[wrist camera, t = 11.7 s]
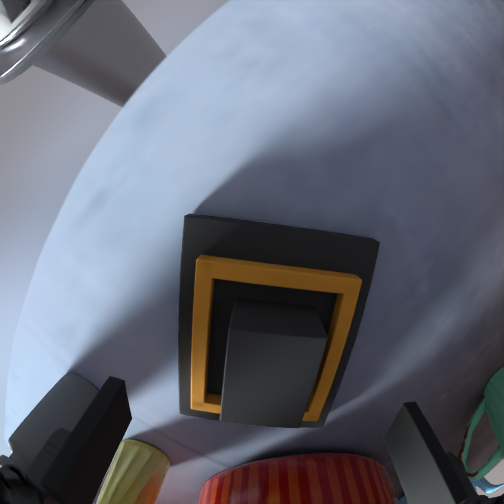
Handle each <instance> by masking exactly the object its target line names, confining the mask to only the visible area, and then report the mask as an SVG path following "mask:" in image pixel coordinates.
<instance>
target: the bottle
mask: <svg viewBox="0 0 504 504" xmlns="http://www.w3.org/2000/svg"><path fill="white" fill-rule="evenodd" d="M98 392H99V390H98V389H97V388H96V387H95V386H94V385H93V384H92V383H91V382H89V381H88V380H86V379H85V378H83V377H81V376H79V375H76V374H66V375H64V376H63V377H62V378H61V379H60V380H59V381H58V382H57V383H56V384H55V385H54V387H53V388H52V389H51V390H50V391H49V392H48V393H47V394H46V395H45V396H44V398H43V399H42V400H41V401H40V402H39V403H38V404H37V405H36V407H35V408H34V409H33V410H32V411H31V412H30V414H29V415H28V416H27V417H26V418H25V419H24V421H23V422H22V423H21V424H20V425H19V427H18V428H17V429H16V430H15V432H14V433H13V434H12V435H11V437H10V438H9V440H8V443H9V447H10V449H11V451H12V454H11V456H10V457H9V458H8V457H6V456H5V455H1V456H0V467H1V466H3V465H5V464H14V465H16V466H18V467H20V468H21V469H22V471H23V472H24V473H25V472H26V471H27V469H28V468H29V466H30V465H31V463H32V462H33V460H34V459H35V457H36V456H37V454H38V453H39V451H40V450H41V449H42V447H43V445H44V444H45V443H46V441H47V440H48V438H49V437H50V435H51V434H52V433H53V432H54V431H56V430H57V429H59V428H61V427H62V428H64V429H66V430H69V431H71V432H72V430H73V429H74V427H75V426H76V424H77V423H78V421H79V420H80V418H81V417H82V415H83V414H84V412H85V411H86V409H87V408H88V407H89V405H90V404H91V402H92V401H93V399H94V398H95V396H96V395H97V393H98Z"/></svg>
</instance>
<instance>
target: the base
mask: <svg viewBox="0 0 504 504" xmlns="http://www.w3.org/2000/svg"><path fill="white" fill-rule="evenodd" d="M379 244H380V242H379V241H377V240H375V239H373V238H366V237H360V236H354V235H348V234H341V233H335V232H328V231H321V230H314V229H307V228H300V227H293V226H286V225H279V224H271V223H264V222H256V221H248V220H240V219H232V218H223V217H215V216H206V215H197V214H188V215H185V216H184V227H183V240H182V254H181V271H180V293H179V330H178V370H179V406H180V414H184V415H189V416H194V417H199V418H205V419H211V420H218V421H220V411H221V401H222V390H223V380H224V369H225V359H226V349H227V340H228V330H229V325H230V320H231V316H232V311H233V307H234V302H235V298H244V299H252V300H260V301H268V302H276V303H285V304H295V305H304V306H314V307H315V308H316V310H317V313H318V315H319V317H320V320H321V322H322V324H323V327H324V329H325V331H326V334H327V336H328V341H327V344H326V348H325V351H324V355H323V358H322V362H321V365H320V368H319V371H318V375H317V378H316V381H315V384H314V387H313V390H312V393H311V396H310V399H309V402H308V405H307V408H306V411H305V414H304V416H303V419H302V422H301V425H300V427H302V428H322V427H323V425H324V422H325V420H326V418H327V415H328V413H329V411H330V408H331V406H332V403H333V401H334V398H335V396H336V393H337V391H338V388H339V385H340V383H341V380H342V377H343V375H344V372H345V369H346V366H347V363H348V360H349V357H350V354H351V351H352V348H353V345H354V342H355V339H356V336H357V332H358V329H359V326H360V322H361V319H362V315H363V312H364V308H365V305H366V301H367V297H368V293H369V289H370V285H371V281H372V277H373V272H374V268H375V263H376V259H377V254H378V249H379Z"/></svg>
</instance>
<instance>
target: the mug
mask: <svg viewBox="0 0 504 504" xmlns="http://www.w3.org/2000/svg"><path fill="white" fill-rule="evenodd" d="M485 410H487V414H488V417H489V420H490V424H491V427H492V430H493V432H494V434H495V437H496V439H497V442H498V445H499V446H498V448H497V449H496V450H495V452H494V453H493V454H492V456H491V457H490V458H489V459H488V461H487V462H486V463H485V464H484V465H483V466H482V467H480V468H479V469H478V470H476V471H475V472H472V471H470V470H469V468H468V467H467V465H466V459H467V454H468V449H469V444H470V440H471V436H472V433H473V431H474V429H475V428H476V426H477V424H478V423H479V421H480V419H481V418H482V416H483V414H484V412H485ZM502 457H503V459H504V367H502V368H500V369H499V370H498V371H497V372H496V373H495V374H494V375H493V376H492V378H491V379H490V380H489V382H488V383H487V385H486V387H485V389H484V392H483V399H482V401H481V403H480V404H479V406H478V408H477V410H476V411H475V413H474V415H473V416H472V418H471V420H470V421H469V423H468V425H467V426H466V428H465V432H464V436H463V439H462V443H461V446H460V449H459V452H458V455H457V458H458V460H459V462H460V463H461V465H462V466H461V467H463V469H464V471H465V473H466V474H467V476H468V478H469V480H470V481H478V480H480V479H481V478H482V477H483V476H485V475H486V474H487V473H488V472H489V471H490V470H491V469H492V468H493V467H494V466H495V465H496V463H497V462H498V461H499V460H500V459H501V458H502Z"/></svg>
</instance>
